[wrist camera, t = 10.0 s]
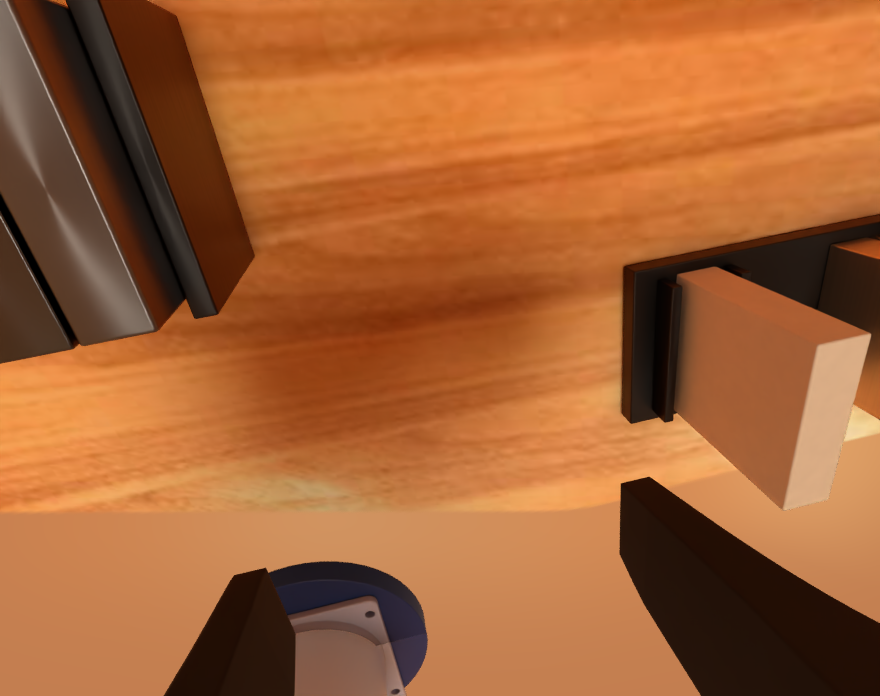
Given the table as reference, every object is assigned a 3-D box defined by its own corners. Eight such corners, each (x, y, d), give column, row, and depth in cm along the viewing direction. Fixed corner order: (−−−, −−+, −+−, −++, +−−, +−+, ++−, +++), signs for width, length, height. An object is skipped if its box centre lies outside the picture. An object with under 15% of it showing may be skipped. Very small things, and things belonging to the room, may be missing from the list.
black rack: (903, 209, 20) (1161, 256, 14) (864, 359, 24) (1060, 454, 17) (623, 266, 20) (761, 344, 13) (621, 414, 23) (732, 537, 16)
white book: (715, 265, 19) (873, 333, 13) (702, 397, 22) (829, 500, 16) (676, 273, 19) (818, 345, 13) (667, 405, 22) (782, 512, 16)
